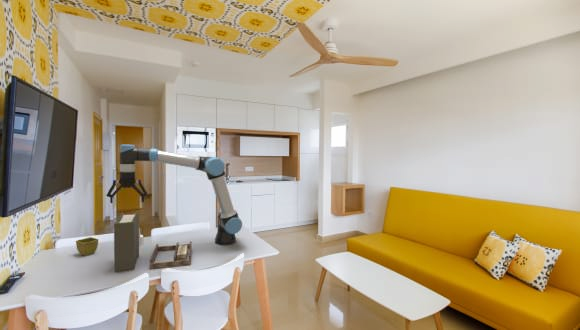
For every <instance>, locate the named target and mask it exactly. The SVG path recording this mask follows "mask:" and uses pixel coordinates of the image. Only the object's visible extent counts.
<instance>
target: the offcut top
mask: <svg viewBox="0 0 580 330" xmlns="http://www.w3.org/2000/svg"><path fill="white" fill-rule="evenodd" d="M181 245H182V246H179V248H178V252H177V258H186V254H187V245H184V244H181ZM187 255H188V254H187ZM186 259H187V258H186Z"/></svg>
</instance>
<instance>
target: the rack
mask: <svg viewBox="0 0 580 330" xmlns="http://www.w3.org/2000/svg"><path fill="white" fill-rule="evenodd" d="M182 245H187V248H188V259H186V260H180V261H177V252H178V248H179V246H182ZM154 247H155V248H154V250H153V251H152V254H151V256H150V258H149V270H157V269H168V268H176V267H184V266H185V267H186V266H191V264H192V263H191V262H192V241H189V243H186V244H179V242H176V244H174V245H173V244H172V245H164V246H163V245H161V246H159V243H157V244H156V245H155V246H154ZM167 251H168V252H169V251H174V253H173V261H162V262H161V261H160V262H155V261H156V259H157V256H158V254H159V253H160V252H167Z"/></svg>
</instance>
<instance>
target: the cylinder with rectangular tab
mask: <svg viewBox="0 0 580 330" xmlns="http://www.w3.org/2000/svg"><path fill="white" fill-rule="evenodd" d="M142 246H144V235H143V234H141V228H140V227H139V248H140V247H142Z"/></svg>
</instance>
